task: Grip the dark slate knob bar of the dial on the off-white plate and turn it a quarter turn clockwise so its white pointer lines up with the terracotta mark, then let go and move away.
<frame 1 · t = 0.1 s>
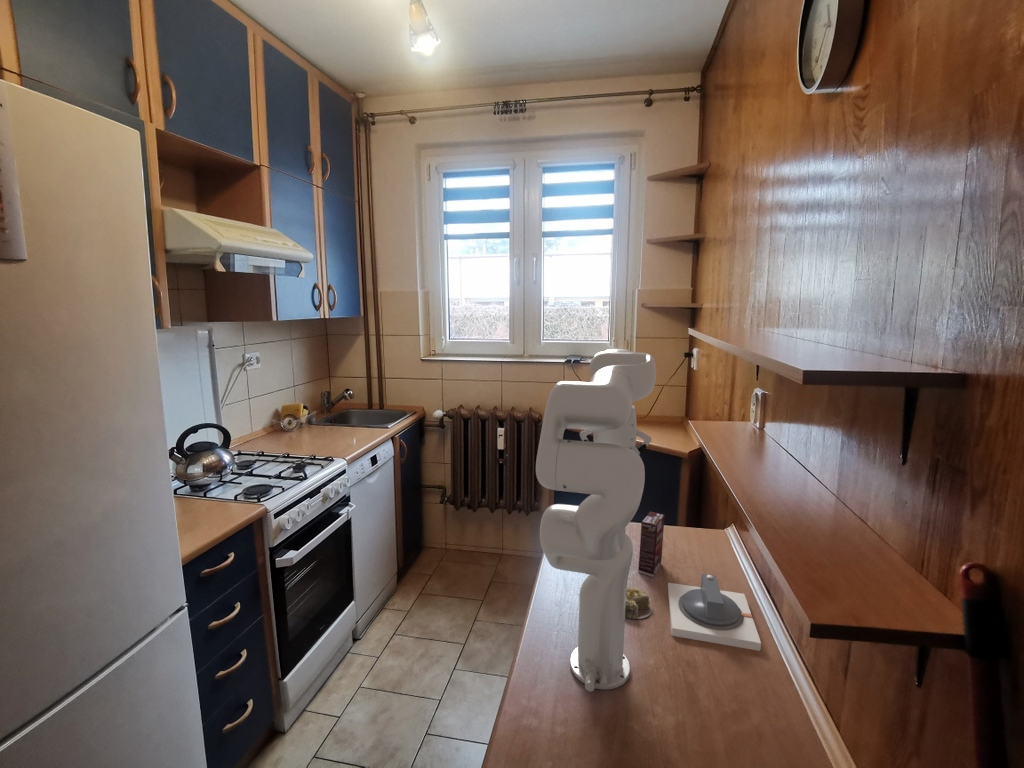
hand: (613, 467, 119), 37 cm above the counter, tool pointing down, fingers open, 9 cm apart
cake: (632, 609, 123), on the counter
dial plate: (709, 617, 119), on the counter
supplement box: (650, 569, 141), on the counter
dial: (711, 597, 118), point 5 cm above the counter, hinge at 0.0°
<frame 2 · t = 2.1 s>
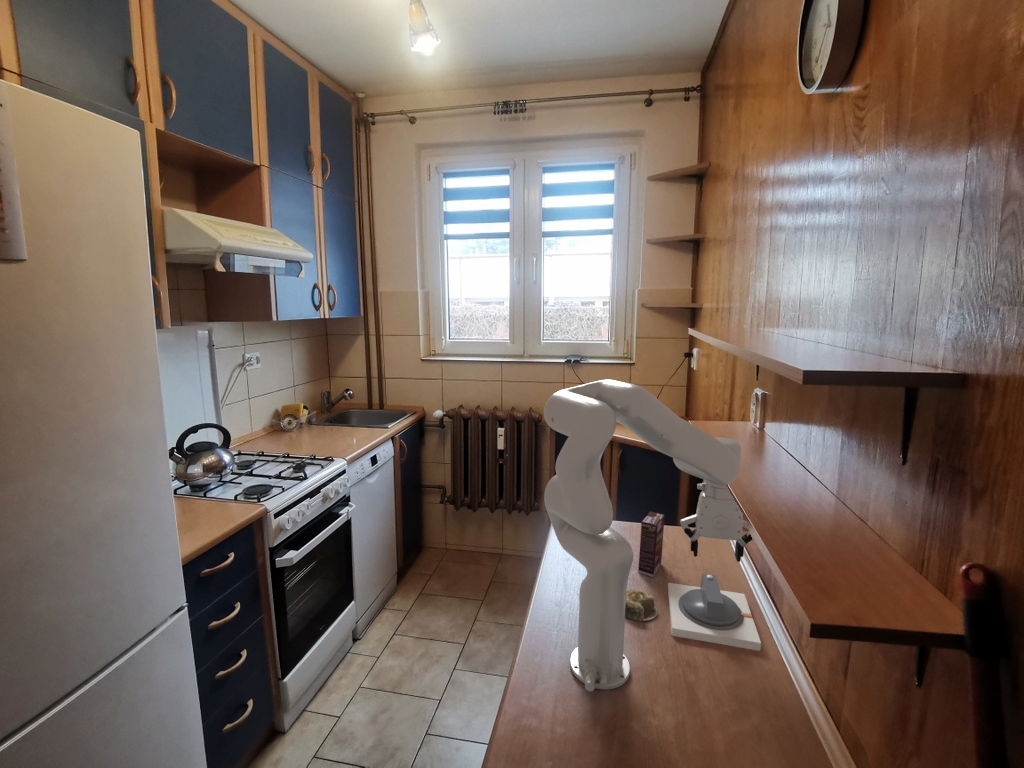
hand: (716, 556, 117), 16 cm above the counter, tool pointing down, fingers open, 9 cm apart
cake: (637, 611, 122), on the counter
everything else where it was.
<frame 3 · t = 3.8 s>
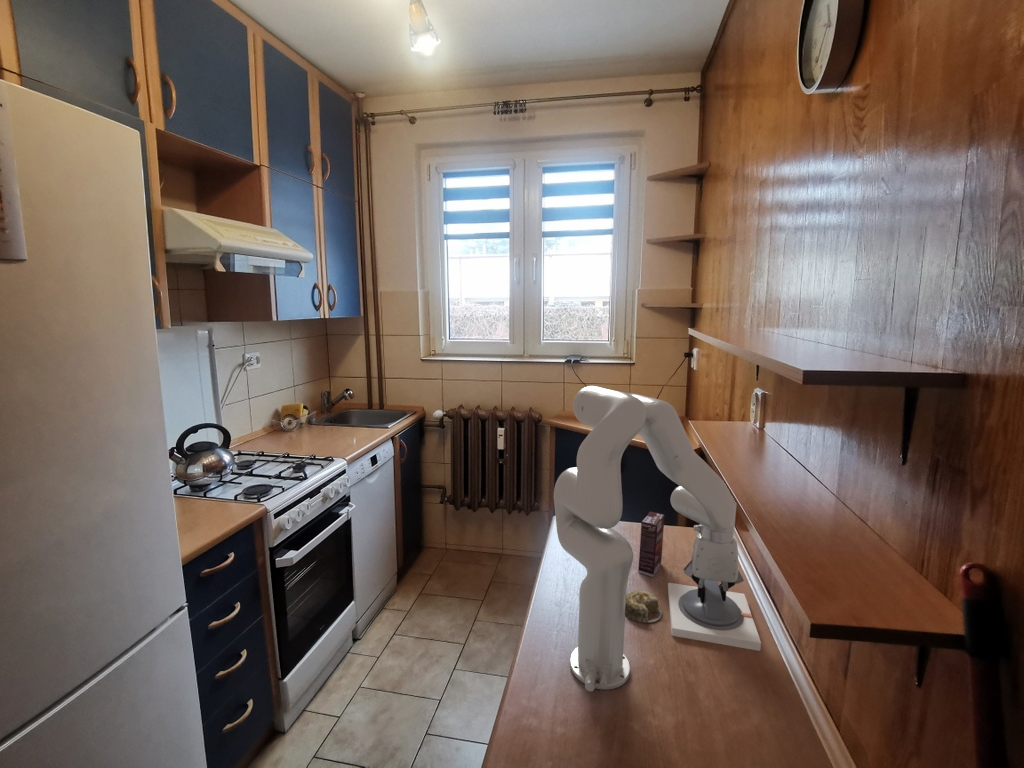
hand: (711, 600, 119), 5 cm above the counter, tool pointing down, fingers closed on dial, 3 cm apart
cake: (641, 612, 122), on the counter
dial: (711, 597, 118), point 5 cm above the counter, hinge at 0.0°, touching gripper
everything else where it was.
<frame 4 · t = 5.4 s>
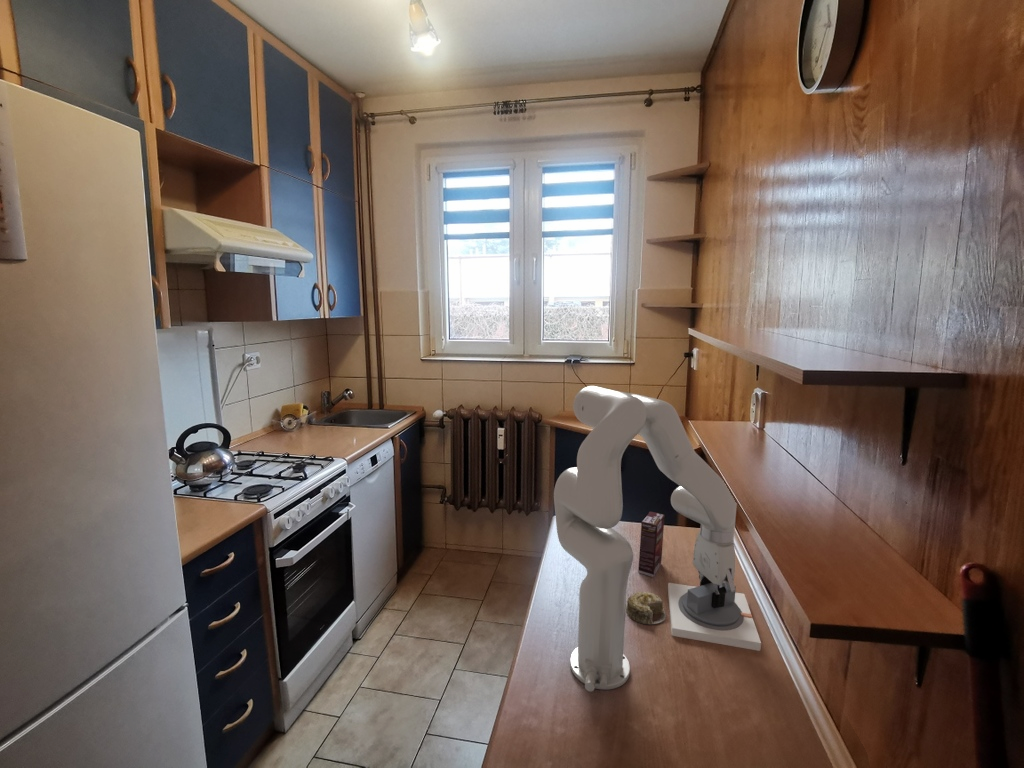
hand: (711, 600, 119), 5 cm above the counter, tool pointing down, fingers closed on dial, 4 cm apart
cake: (645, 614, 121), on the counter
dial: (711, 597, 118), point 5 cm above the counter, hinge at -52.2°, touching gripper
everything else where it was.
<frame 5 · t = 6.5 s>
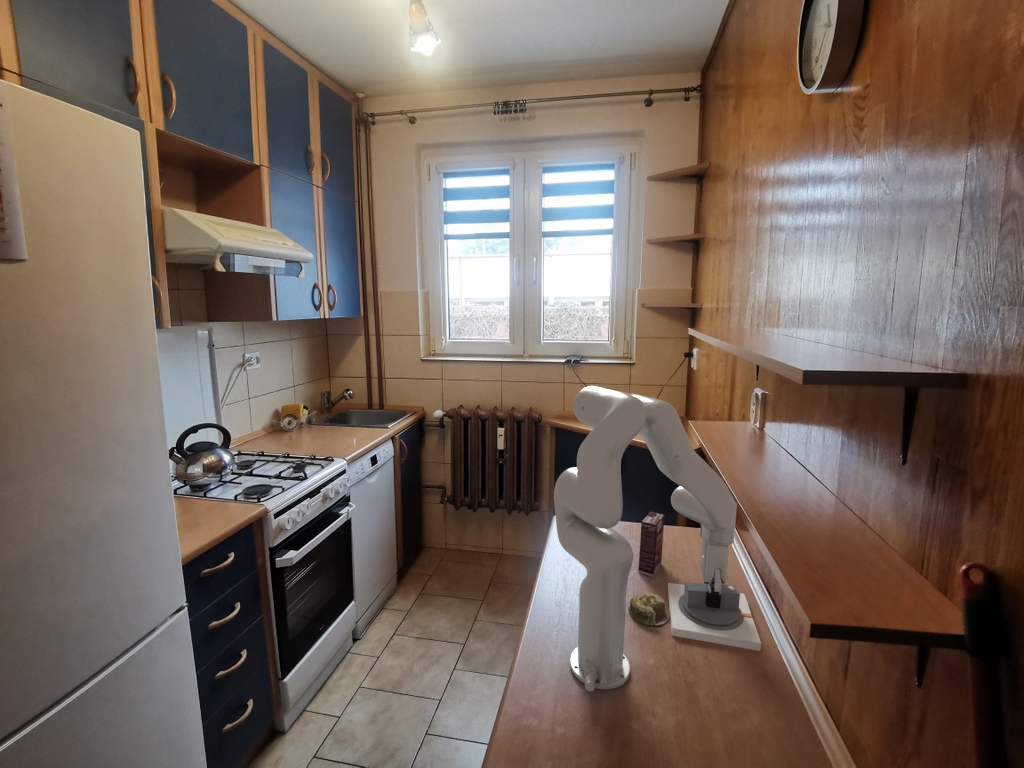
hand: (711, 600, 119), 5 cm above the counter, tool pointing down, fingers closed on dial, 4 cm apart
dial: (711, 597, 118), point 5 cm above the counter, hinge at -82.0°, touching gripper
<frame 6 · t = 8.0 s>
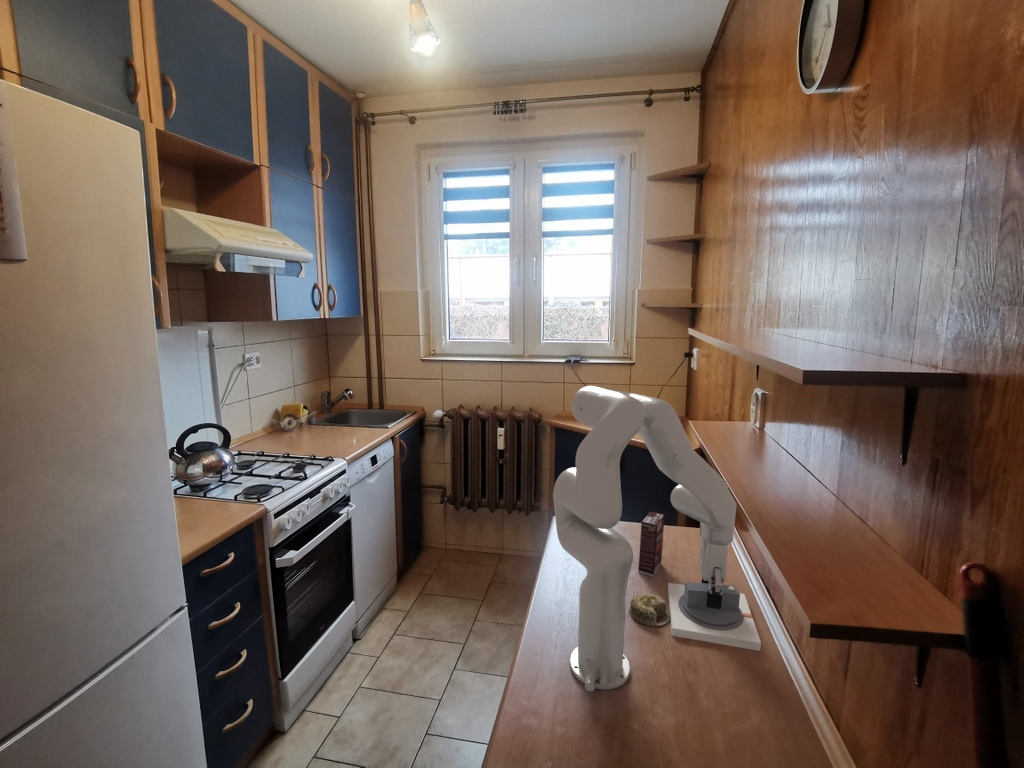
hand: (710, 595, 118), 6 cm above the counter, tool pointing down, fingers open, 9 cm apart
dial: (711, 597, 118), point 5 cm above the counter, hinge at -82.8°
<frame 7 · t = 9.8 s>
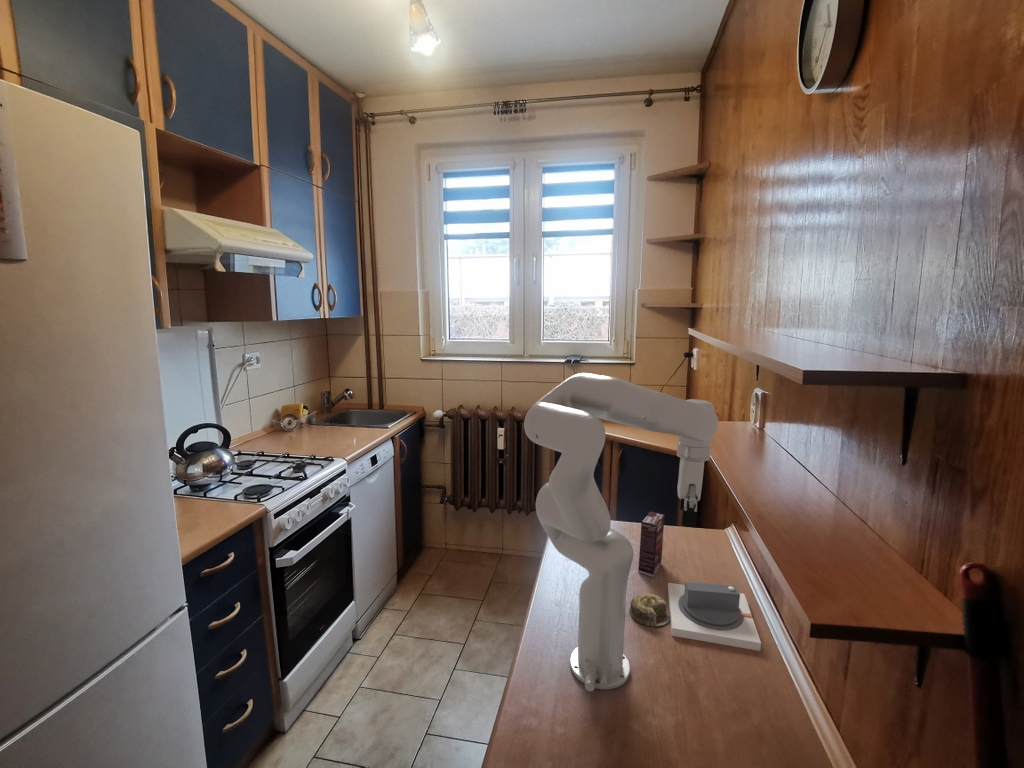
hand: (687, 517, 118), 25 cm above the counter, tool pointing down, fingers open, 9 cm apart
nothing on the counter moved.
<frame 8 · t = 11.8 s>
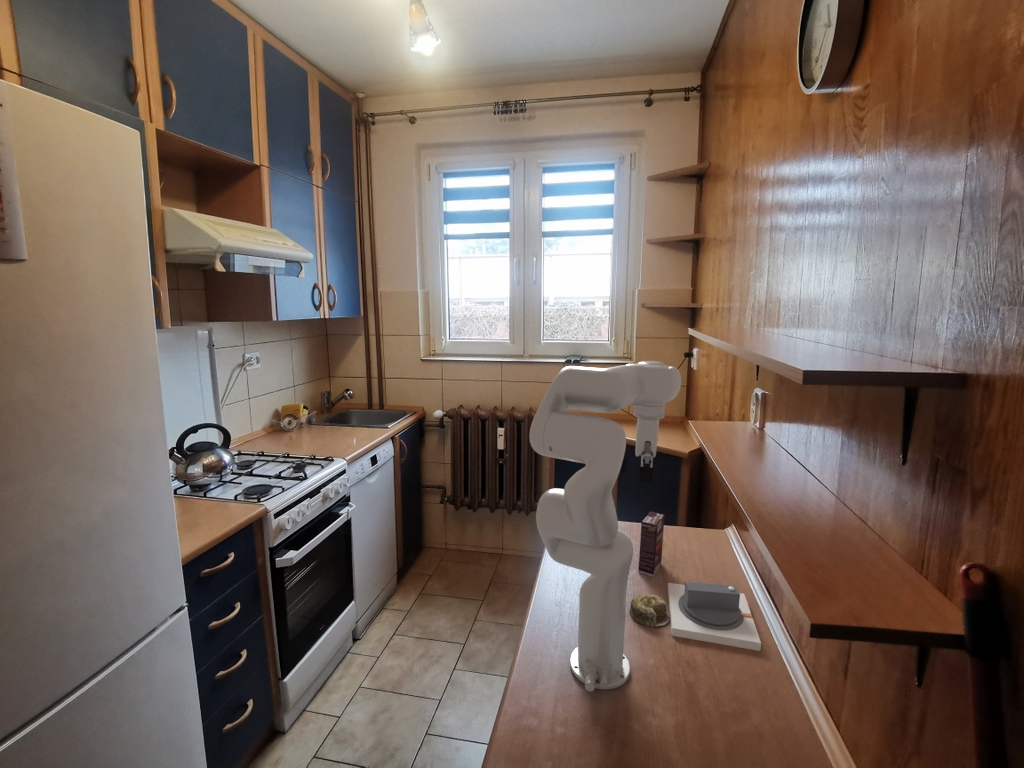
hand: (645, 474, 124), 33 cm above the counter, tool pointing down, fingers open, 9 cm apart
at the end: dial at -83° (first picture: +0°); the gripper is holding nothing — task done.
